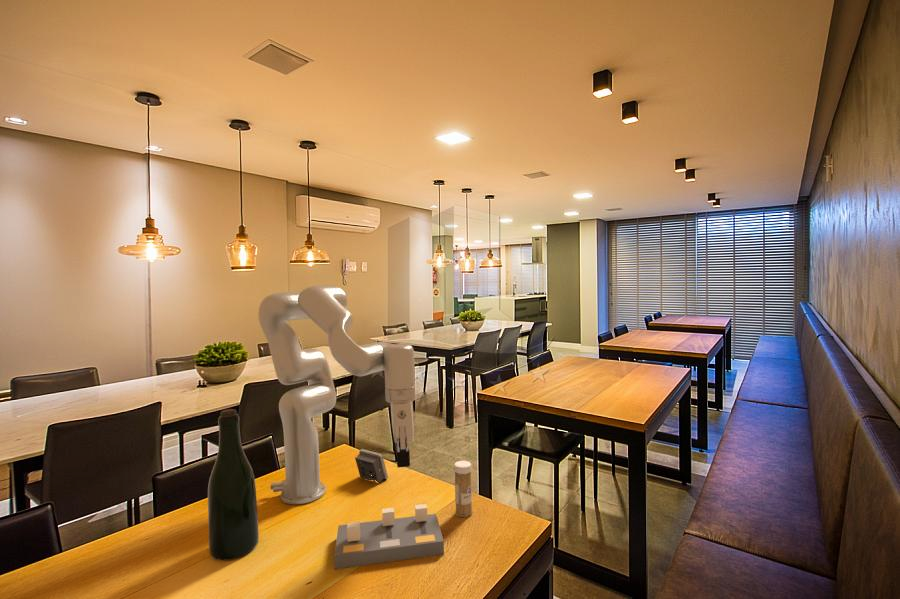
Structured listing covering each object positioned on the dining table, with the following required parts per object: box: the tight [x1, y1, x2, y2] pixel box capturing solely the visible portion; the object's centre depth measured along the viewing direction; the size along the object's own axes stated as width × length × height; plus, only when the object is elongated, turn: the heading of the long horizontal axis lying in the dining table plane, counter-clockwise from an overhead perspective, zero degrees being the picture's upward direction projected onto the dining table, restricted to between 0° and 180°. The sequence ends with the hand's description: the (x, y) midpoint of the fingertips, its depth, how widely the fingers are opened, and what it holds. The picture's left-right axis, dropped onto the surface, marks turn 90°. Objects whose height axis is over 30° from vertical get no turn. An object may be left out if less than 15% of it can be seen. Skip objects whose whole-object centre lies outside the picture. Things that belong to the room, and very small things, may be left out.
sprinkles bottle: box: [453, 460, 473, 518], centre depth 115 cm, size 5×5×14 cm
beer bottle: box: [207, 408, 260, 561], centre depth 102 cm, size 10×10×33 cm
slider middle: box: [381, 507, 395, 526], centre depth 105 cm, size 3×2×3 cm
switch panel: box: [333, 513, 445, 570], centre depth 102 cm, size 24×12×3 cm, turn 100°
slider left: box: [347, 521, 361, 542], centre depth 99 cm, size 3×2×3 cm
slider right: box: [414, 503, 428, 522], centre depth 106 cm, size 3×2×3 cm
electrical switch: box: [354, 448, 389, 484], centre depth 136 cm, size 9×5×9 cm, turn 57°
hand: (403, 465), depth 110 cm, fingers closed
